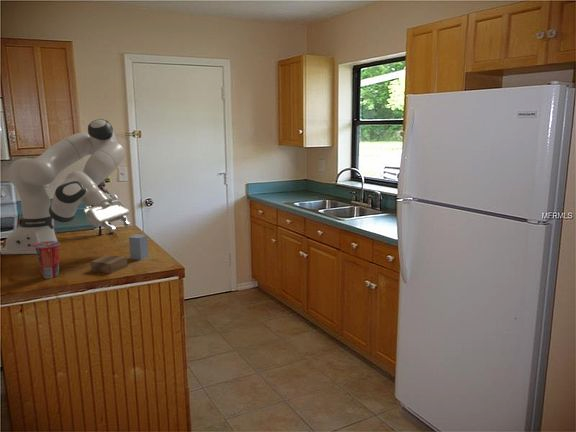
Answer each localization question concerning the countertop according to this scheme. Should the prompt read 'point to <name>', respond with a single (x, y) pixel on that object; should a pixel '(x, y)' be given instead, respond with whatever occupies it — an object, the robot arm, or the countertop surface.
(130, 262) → the countertop surface
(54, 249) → the cup
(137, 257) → the blue block
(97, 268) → the walnut block
